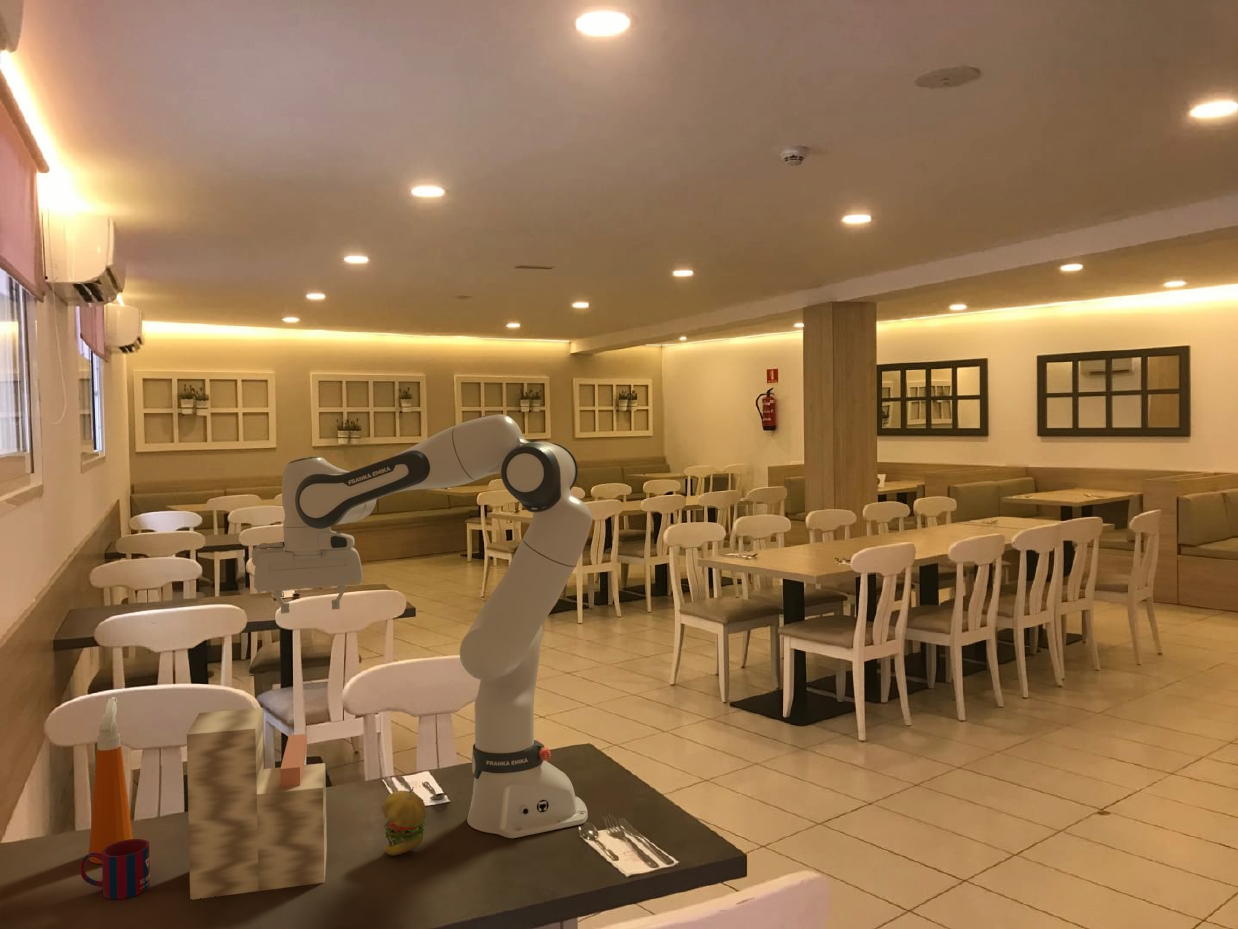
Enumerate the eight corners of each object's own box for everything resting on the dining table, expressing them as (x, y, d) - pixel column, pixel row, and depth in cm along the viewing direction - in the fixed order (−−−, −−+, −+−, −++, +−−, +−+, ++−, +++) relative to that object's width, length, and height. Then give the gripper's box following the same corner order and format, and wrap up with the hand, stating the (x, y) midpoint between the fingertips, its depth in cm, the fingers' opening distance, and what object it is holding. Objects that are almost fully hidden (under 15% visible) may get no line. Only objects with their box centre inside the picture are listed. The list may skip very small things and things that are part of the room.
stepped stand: (326, 851, 164) (324, 703, 163) (324, 882, 152) (321, 723, 151) (202, 866, 158) (199, 713, 158) (190, 900, 147) (186, 734, 146)
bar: (306, 750, 170) (306, 734, 170) (300, 785, 153) (299, 767, 153) (289, 752, 169) (288, 735, 169) (280, 787, 152) (280, 769, 152)
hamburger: (403, 841, 167) (402, 774, 167) (435, 849, 164) (434, 781, 164) (373, 859, 161) (372, 789, 160) (406, 867, 157) (405, 796, 157)
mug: (139, 899, 147) (138, 856, 147) (73, 902, 147) (72, 858, 146) (157, 879, 154) (156, 838, 154) (93, 882, 153) (92, 840, 153)
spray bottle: (139, 836, 171) (136, 691, 170) (131, 860, 161) (128, 707, 160) (95, 842, 168) (92, 696, 168) (84, 867, 158) (80, 712, 158)
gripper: (249, 545, 178) (252, 618, 178) (361, 538, 184) (364, 609, 184) (252, 542, 184) (255, 612, 184) (361, 536, 190) (364, 604, 190)
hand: (310, 611), depth 184 cm, fingers open, 8 cm apart
